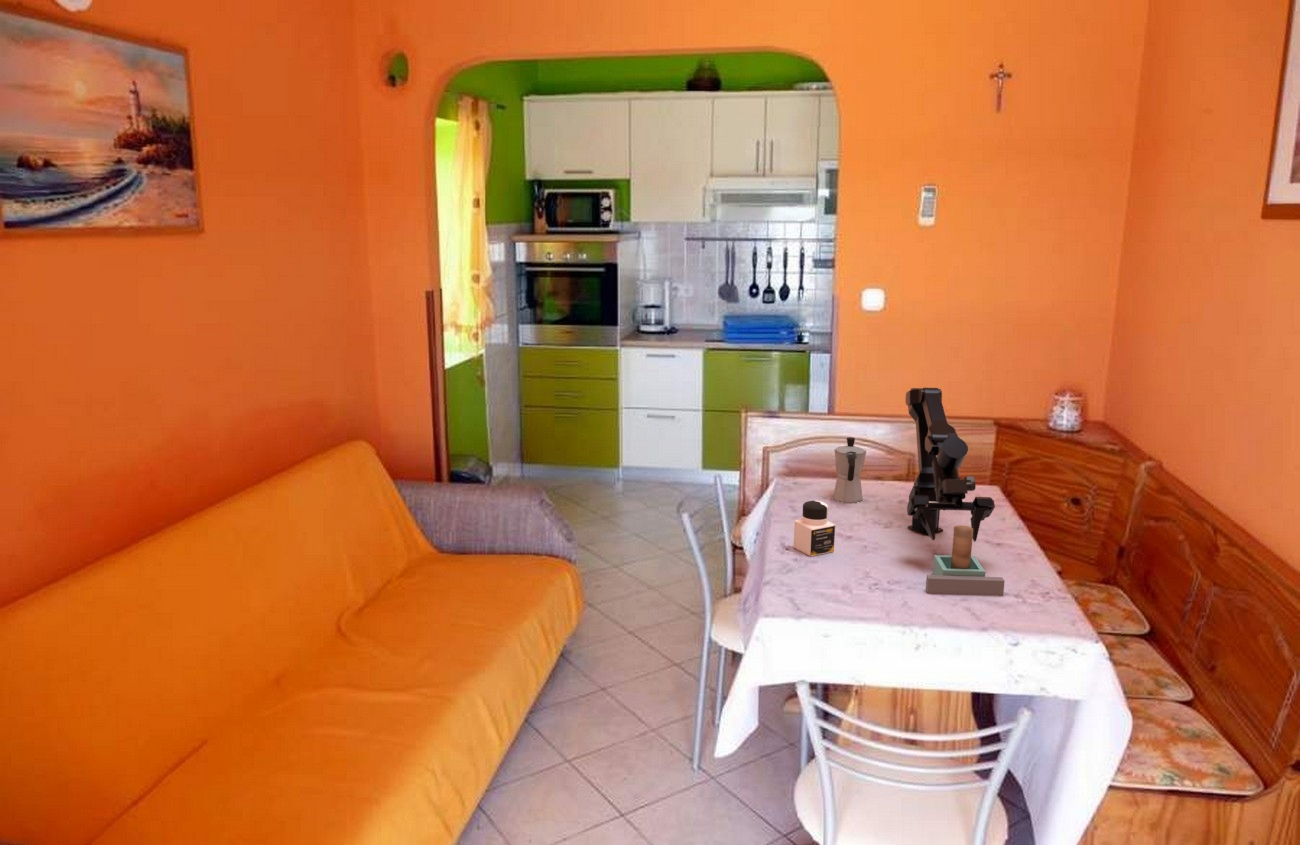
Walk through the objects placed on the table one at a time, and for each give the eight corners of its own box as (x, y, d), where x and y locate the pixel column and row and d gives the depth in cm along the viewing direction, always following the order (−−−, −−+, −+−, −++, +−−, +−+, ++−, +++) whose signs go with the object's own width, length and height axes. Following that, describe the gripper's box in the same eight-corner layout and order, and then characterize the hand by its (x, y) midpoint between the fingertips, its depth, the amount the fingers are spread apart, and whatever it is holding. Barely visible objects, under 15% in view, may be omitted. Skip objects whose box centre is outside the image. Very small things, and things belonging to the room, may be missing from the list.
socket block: (932, 573, 214) (934, 555, 213) (972, 574, 214) (974, 556, 213) (941, 589, 206) (943, 570, 205) (983, 590, 205) (985, 571, 204)
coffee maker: (830, 491, 275) (833, 431, 271) (861, 492, 274) (865, 432, 269) (833, 507, 260) (836, 444, 256) (865, 509, 259) (869, 446, 255)
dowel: (952, 574, 211) (956, 524, 208) (970, 578, 209) (975, 527, 206) (947, 581, 208) (952, 529, 205) (966, 584, 206) (971, 532, 203)
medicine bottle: (810, 557, 224) (812, 509, 222) (792, 547, 231) (794, 500, 228) (834, 552, 228) (836, 504, 225) (816, 542, 234) (818, 496, 231)
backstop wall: (925, 589, 206) (926, 574, 205) (1000, 592, 205) (1001, 577, 204) (927, 593, 204) (928, 578, 203) (1003, 596, 203) (1004, 580, 202)
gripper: (913, 461, 215) (919, 524, 207) (996, 463, 214) (1006, 526, 206) (904, 484, 225) (910, 544, 217) (983, 486, 223) (992, 546, 215)
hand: (954, 540), depth 213 cm, fingers open, 9 cm apart
